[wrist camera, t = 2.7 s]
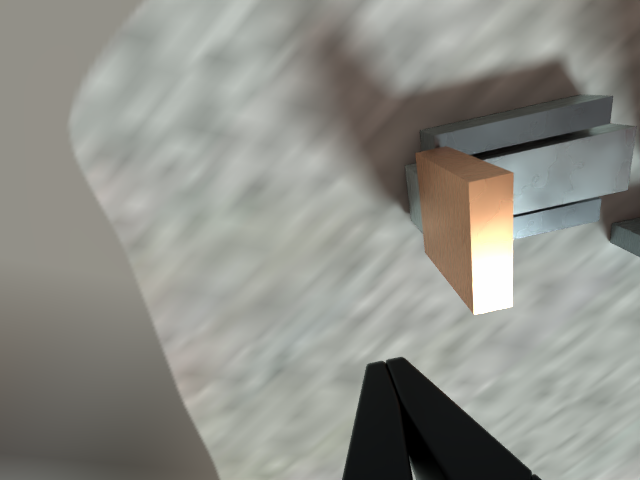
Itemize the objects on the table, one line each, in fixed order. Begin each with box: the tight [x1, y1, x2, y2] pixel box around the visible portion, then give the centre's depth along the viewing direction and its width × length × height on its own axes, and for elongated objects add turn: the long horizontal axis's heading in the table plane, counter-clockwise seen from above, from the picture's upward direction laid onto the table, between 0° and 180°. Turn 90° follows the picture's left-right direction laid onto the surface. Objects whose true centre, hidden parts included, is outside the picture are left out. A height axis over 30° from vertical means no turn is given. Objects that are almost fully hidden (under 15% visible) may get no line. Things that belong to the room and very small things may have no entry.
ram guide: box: [420, 95, 613, 239], centre depth 18 cm, size 8×6×2 cm
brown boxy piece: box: [405, 123, 637, 315], centre depth 15 cm, size 10×5×7 cm, turn 102°
